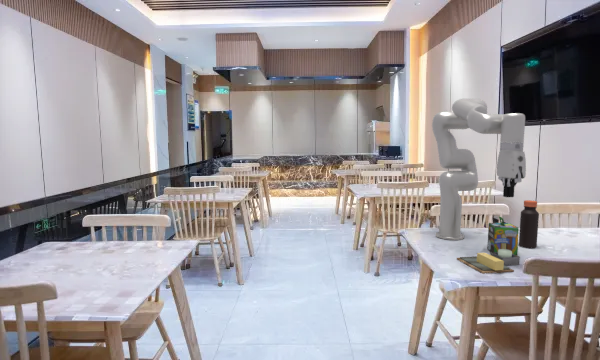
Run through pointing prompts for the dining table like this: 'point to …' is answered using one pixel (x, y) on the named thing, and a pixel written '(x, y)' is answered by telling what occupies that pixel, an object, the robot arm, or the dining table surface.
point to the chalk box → (503, 237)
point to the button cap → (505, 253)
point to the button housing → (507, 259)
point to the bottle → (529, 225)
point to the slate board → (481, 265)
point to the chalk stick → (490, 261)
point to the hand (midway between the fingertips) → (508, 196)
